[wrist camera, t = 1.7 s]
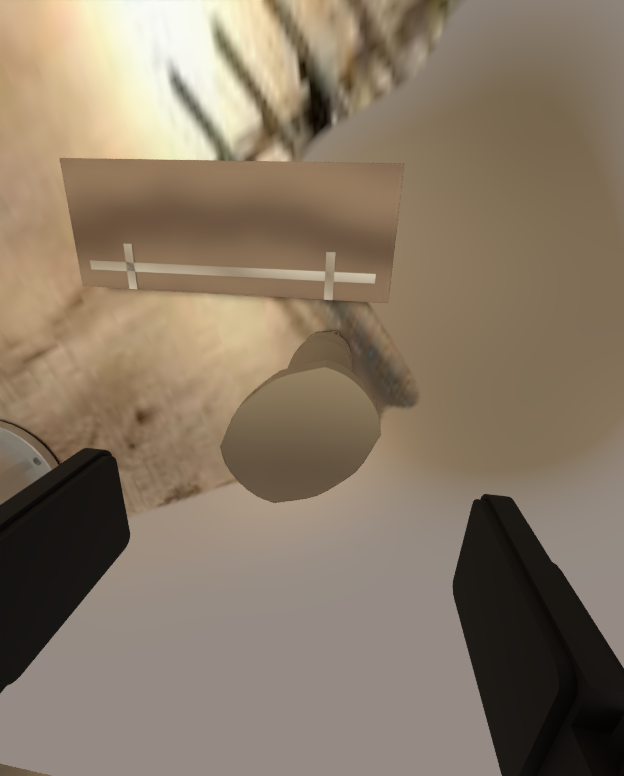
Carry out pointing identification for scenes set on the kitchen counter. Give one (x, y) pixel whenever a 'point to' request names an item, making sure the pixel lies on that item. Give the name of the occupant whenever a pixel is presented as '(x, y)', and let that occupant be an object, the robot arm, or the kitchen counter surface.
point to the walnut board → (236, 226)
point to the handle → (303, 425)
